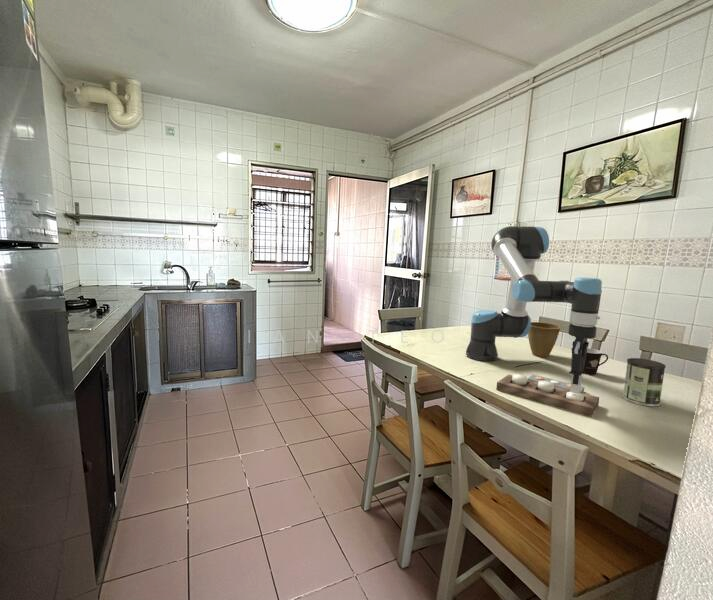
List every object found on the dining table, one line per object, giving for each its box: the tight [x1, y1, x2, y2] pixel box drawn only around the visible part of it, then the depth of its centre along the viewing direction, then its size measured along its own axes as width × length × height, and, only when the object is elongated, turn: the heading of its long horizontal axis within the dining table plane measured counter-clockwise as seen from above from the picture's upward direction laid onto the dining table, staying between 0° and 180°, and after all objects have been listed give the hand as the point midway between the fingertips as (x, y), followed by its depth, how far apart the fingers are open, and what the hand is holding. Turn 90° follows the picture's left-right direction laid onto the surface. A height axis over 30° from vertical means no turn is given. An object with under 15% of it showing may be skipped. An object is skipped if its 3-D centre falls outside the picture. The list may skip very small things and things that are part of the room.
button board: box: [496, 374, 600, 418], centre depth 120 cm, size 30×12×3 cm, turn 46°
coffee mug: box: [583, 347, 609, 376], centre depth 146 cm, size 12×9×10 cm
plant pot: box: [527, 321, 561, 358], centre depth 172 cm, size 15×15×16 cm
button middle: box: [538, 381, 554, 393], centre depth 120 cm, size 5×5×2 cm
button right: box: [566, 392, 584, 402], centre depth 114 cm, size 5×5×2 cm
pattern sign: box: [527, 374, 585, 394], centre depth 130 cm, size 18×7×2 cm, turn 46°
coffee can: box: [622, 357, 666, 407], centre depth 119 cm, size 10×10×14 cm
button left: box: [511, 373, 528, 385], centre depth 126 cm, size 5×5×2 cm
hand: (574, 392), depth 114 cm, fingers closed
